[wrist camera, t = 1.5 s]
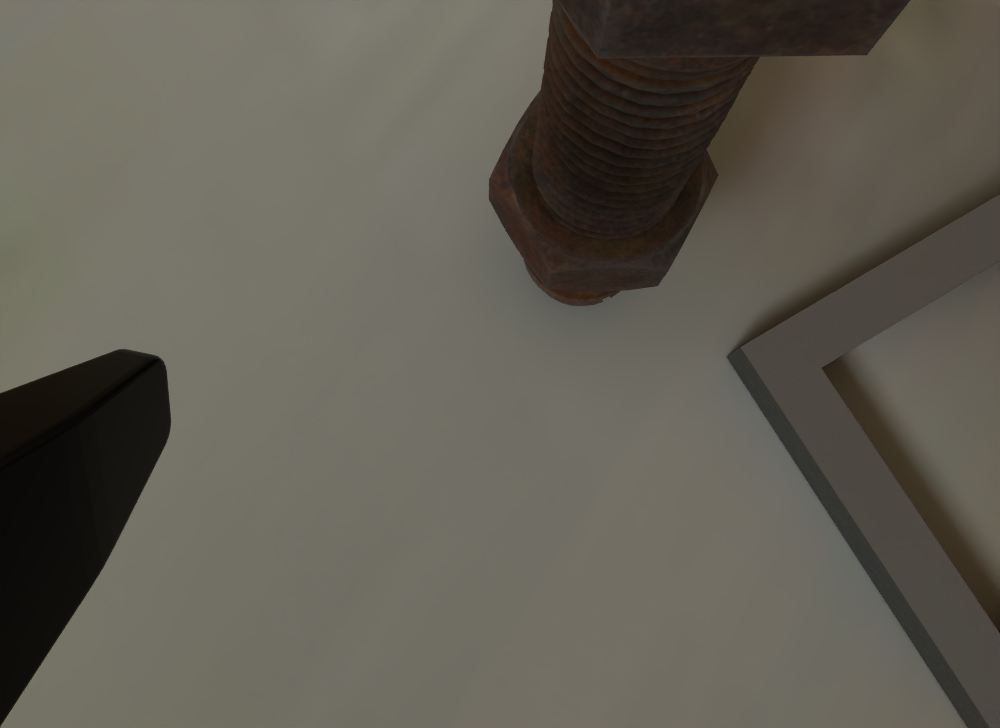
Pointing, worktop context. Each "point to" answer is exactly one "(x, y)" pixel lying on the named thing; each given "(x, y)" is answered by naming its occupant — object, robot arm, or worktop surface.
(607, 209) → the bolt
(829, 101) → the worktop surface
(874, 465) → the socket plate
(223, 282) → the worktop surface
